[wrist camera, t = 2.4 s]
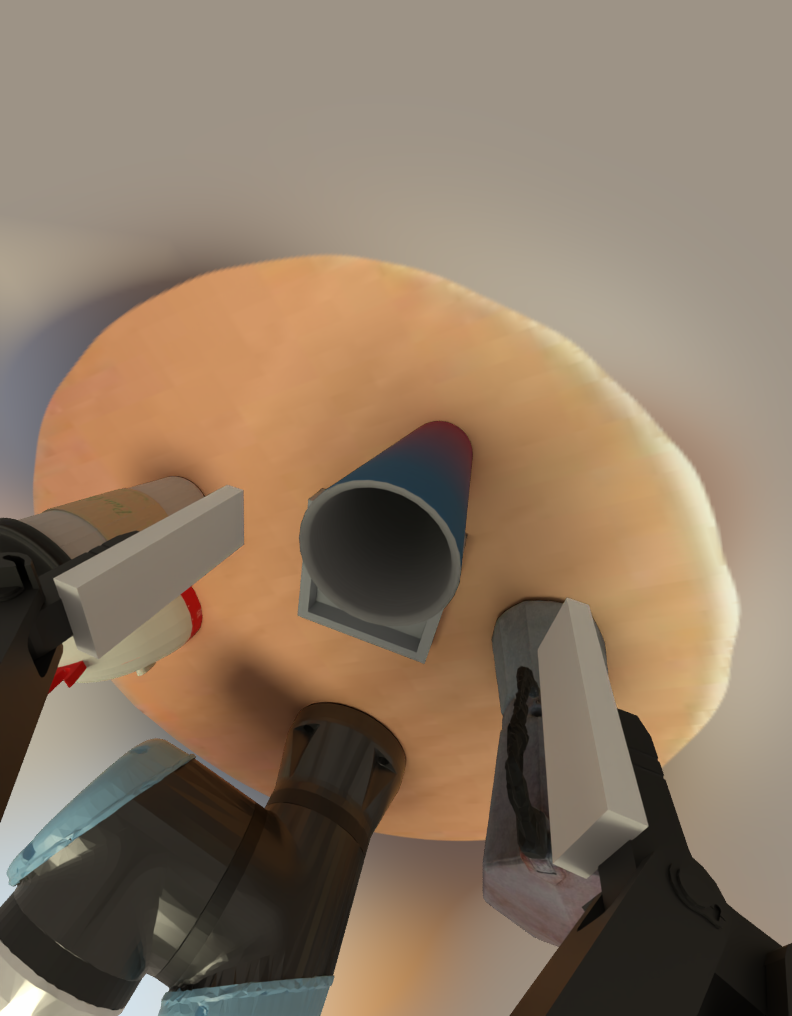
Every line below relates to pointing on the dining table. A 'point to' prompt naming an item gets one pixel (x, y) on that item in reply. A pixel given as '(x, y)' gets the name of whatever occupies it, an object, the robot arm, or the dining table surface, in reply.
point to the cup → (394, 529)
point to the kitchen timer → (134, 645)
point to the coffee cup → (94, 521)
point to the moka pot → (527, 790)
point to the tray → (396, 639)
